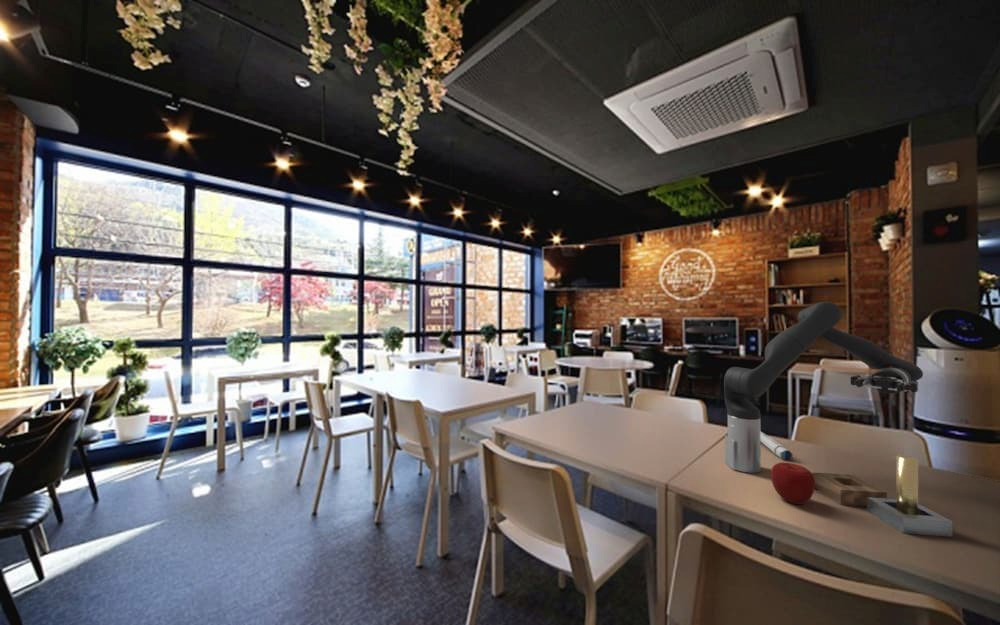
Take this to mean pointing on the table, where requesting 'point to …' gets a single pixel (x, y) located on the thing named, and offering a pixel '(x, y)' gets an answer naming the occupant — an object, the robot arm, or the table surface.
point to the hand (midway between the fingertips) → (877, 385)
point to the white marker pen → (776, 447)
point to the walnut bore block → (847, 488)
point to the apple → (793, 482)
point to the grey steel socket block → (910, 518)
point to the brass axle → (907, 484)
